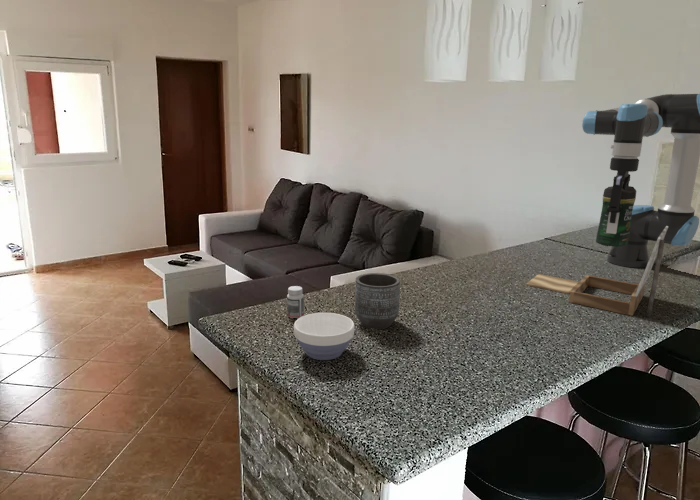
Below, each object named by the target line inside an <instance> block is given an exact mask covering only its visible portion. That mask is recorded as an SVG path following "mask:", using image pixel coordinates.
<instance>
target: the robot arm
mask: <svg viewBox="0 0 700 500" xmlns="http://www.w3.org/2000/svg"><path fill="white" fill-rule="evenodd" d="M582 118H583V119H582V124H581V125H582V126H581V127H582V131H583V132H584V133H585V134H587V135H593V136H594V135H603V136H604V135H605V136H614V138H613V145H612V144H611V146H610V149H611V150H612V152H611V155H612V158H611V159H610V164H609V169H610V170H611V171H617V172H616V175H615V176H614V177H613V184H612V186H613V188H612V194H611V199H610V204H609V208H608V209H607V212H609V217H608V223H607V230H606V233H611V234H616V232H617V226H618V219H619V208H620V202H621V199H620V198H621V192H622V189H623V190H625V189H626V186H629V184H630V181H631V174H630V173H633V172H637V171H638V168H639V163H640V159H639V157H640V156H641V153H642V147H643V138H645V137H646V138H649V137H651V136H654V135H656V134H658V133H659V132H660V131H661V129H662V128H670V134H671V135H672V137H673V138H674V140H673V146H672V152H671V158H670V163H669V170H668V176H667V180H666V182H667V183H666V187H665V192H664V198H663V203H662V204H661V205H659V206H658V207H657V210H655V207H654V205H648V204H636V205H635V204H634V206H633V210H632V217H631V224H630V233H629V240H628V244H627V245H625V246H620V247H613V246H610V247H611V248H610V249H609V251H608V252H607V257H606V260H607V262H609V263H611V264H613V265H616V266H617V265H618V266H622V267H626V268H627V267H628V268H639V269H640V268H646V266H647V264H648V261H649V259H650V253H649V249H648V244H649V242H655V243H656V241H657V239H658V237H659V236H660V234H661V233H662V231H663V230H664V229H665V227H666V226H668V229H667V231H666V234H665V236H664V239H663V240H665V242H664V244H665V245H666V244H668V245H671V246H678V247H679V246H680V247H684V246H687V245H689V244H690V243H691V241H692V240H693V239H694V237H695V235H696V233H697V231H698V228H699V225H700V217H698V216H697V215H695V212H696V211H695V209H694V207H692V200H693V196H694V195H693V194H694V189H695V184H696V178H697V173H698V168H699V162H700V93H678V94H676V93H669V94H668V93H666V94H660V95H655V96H652V97H647V98H643V99H639V100H638V101H636V102H635V103H625V104H624V103H622V104H620V105H619V107H615V108H610V109H606V110H588V111H587V112H586V113H585V114H584V116H583V117H582ZM629 172H630V173H629Z"/></svg>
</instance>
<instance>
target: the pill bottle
mask: <svg viewBox="0 0 700 500" xmlns="http://www.w3.org/2000/svg"><path fill="white" fill-rule="evenodd" d="M287 293H288V294H287V295H286V314H287V317H288V318H289V317H290V319H293V318H297V319H299V318H300V317H302V316H305V306H304V305H305V303H304V301H305V297H304V294H303V287H302V286H300V285H299V286H298V285H292V286H289V287H288V289H287Z"/></svg>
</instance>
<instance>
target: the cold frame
mask: <svg viewBox="0 0 700 500" xmlns="http://www.w3.org/2000/svg"><path fill="white" fill-rule="evenodd" d="M667 229H668V226H666V227H665V229H664V230H663V231H662V233H661V234H660V236H659V237H658V239H657V241H656V242H655V244H654V246H653V249H652V252H651V254H650V255H649V258H650V259H649V261H648V264H647V266H646V267H645V270H644V272H643V274H642V276H641V279H640V281H639V283H633V282H627V281H621V280H617V279H610V278H606V277H605V278H604V277H600V276H596V275H595V276H593V275H589V274H586V275H584V277H583V278H582V279H581V280H580V281H578V282H579V283H578V284H577V285H576V286H575V287H574V288H573V289H572V290H571V291H570V293H569V296H568V303H571V304H575V305H576V304H577V305H581V306H584V307H585V306H586V307H591V308H594V309H599V310H603V311H609V312H613V313H618V314H622V315H627V316H633V315H634V314H635V312H636V310H637V308H638V306H639V304H640V303H641V301H642V299H643V297H644V293H645V289H646V285H647V283H646V282H647V280H648V279H649V276H650V273H651V271H652V268H653V266H654V271H653V276H652V282H651V288H650V293H649V297H648V298H649V299H648V305H647V310H646V316H647V317H652V314H653V313H652V311H653V306H654V302H655V295H656V291H657V286H658V285H657V284H658V280H659V275H660V274H659V273H660V268H661V264H662V257H663V252H664V248H665V243H664V242H665V240H663V239H664V236H665V234H666V231H667ZM654 264H655V265H654ZM588 287H590V288H596V289H602V290H606V291H611V292H617V293H621V294H627V295H631V296H630V301H629V302H628V301H625V300H619V299H614V298H610V297H605V296H600V295H595V294H589V293H584V291H585V290H586V289H587V288H588Z"/></svg>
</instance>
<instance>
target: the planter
mask: <svg viewBox="0 0 700 500" xmlns="http://www.w3.org/2000/svg"><path fill="white" fill-rule="evenodd" d="M354 287H355V290H354V313H355V315H356V317H357V319H358V321H359V322H360V324H361V325H362V326H363V327H364V328H367V327H368V328H367V329H370V328H372V329H371V330H384V328H385V329H387V328H389V327H391V326H392V325H393V323H394V322H395V320H396V319H397V317H398V316H399V314H400V296H401V295H400V293H401V280H400V278H399V277H397V276H395V275H392V274H388V273H383V272H382V273H380V272H369V273H364V274H360V275H358V276H356V278H355V286H354Z"/></svg>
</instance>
